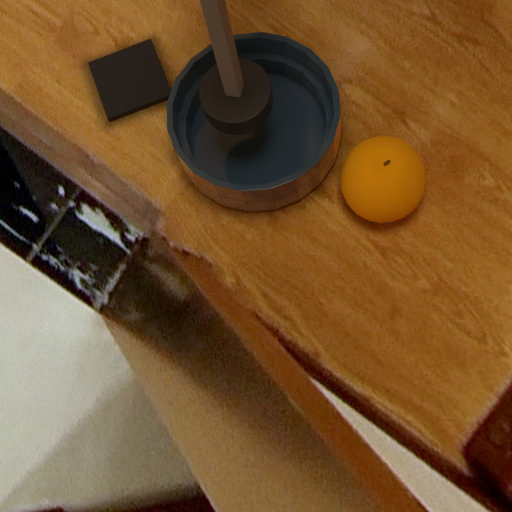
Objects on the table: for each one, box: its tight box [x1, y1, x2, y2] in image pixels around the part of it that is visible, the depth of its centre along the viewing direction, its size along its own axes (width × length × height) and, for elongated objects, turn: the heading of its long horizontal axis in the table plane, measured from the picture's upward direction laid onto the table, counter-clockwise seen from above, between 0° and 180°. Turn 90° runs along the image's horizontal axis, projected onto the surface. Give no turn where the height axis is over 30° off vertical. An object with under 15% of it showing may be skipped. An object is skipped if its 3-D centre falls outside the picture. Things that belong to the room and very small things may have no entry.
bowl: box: [166, 31, 342, 212], centre depth 83 cm, size 16×16×6 cm
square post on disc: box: [199, 0, 273, 135], centre depth 67 cm, size 6×6×24 cm
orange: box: [339, 135, 427, 224], centre depth 79 cm, size 8×8×8 cm
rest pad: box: [87, 38, 172, 123], centre depth 88 cm, size 7×7×1 cm
